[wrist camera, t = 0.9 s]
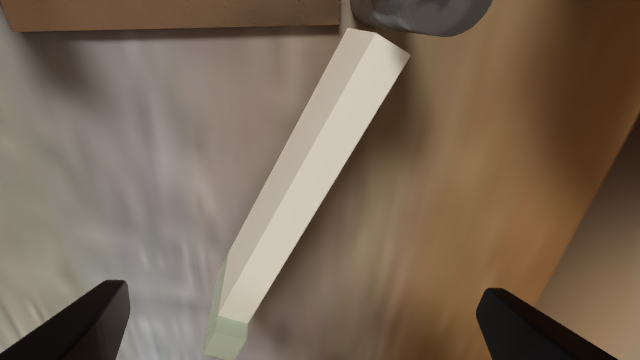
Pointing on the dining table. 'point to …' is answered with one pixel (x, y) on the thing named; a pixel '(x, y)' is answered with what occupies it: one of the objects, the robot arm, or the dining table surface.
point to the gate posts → (242, 14)
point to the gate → (301, 181)
